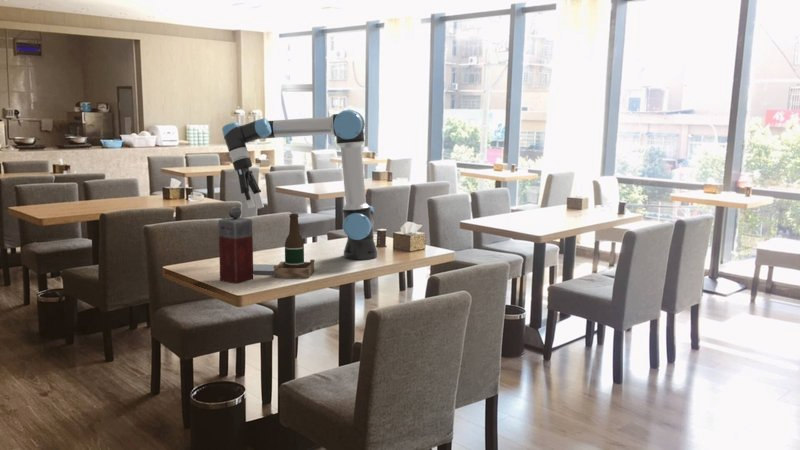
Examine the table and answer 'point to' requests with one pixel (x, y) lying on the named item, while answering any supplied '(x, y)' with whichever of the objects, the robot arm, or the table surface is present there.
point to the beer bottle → (294, 245)
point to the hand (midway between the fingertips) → (256, 207)
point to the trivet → (263, 269)
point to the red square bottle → (235, 248)
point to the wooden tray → (294, 270)
